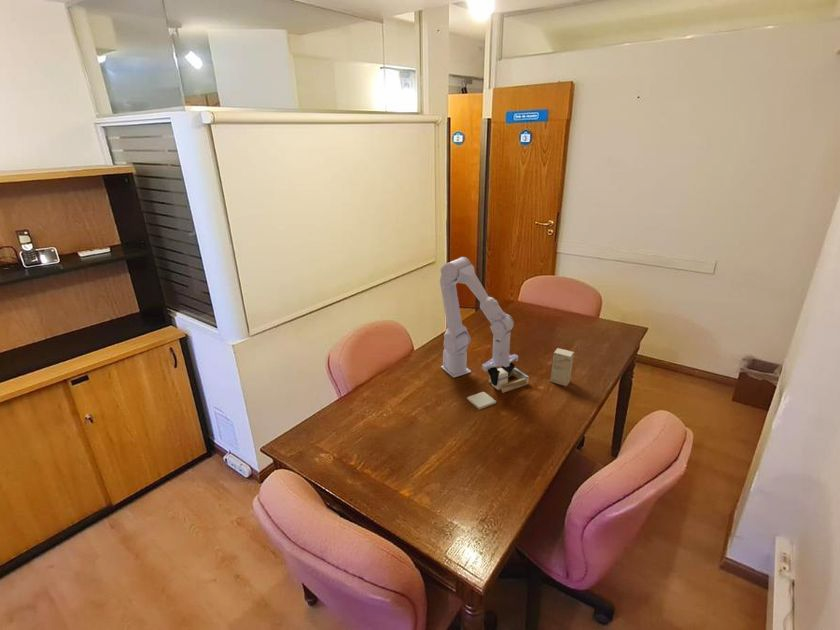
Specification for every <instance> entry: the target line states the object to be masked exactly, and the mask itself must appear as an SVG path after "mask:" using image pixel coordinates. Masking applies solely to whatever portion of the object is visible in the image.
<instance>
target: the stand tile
mask: <svg viewBox="0 0 840 630" xmlns="http://www.w3.org/2000/svg"><path fill="white" fill-rule="evenodd" d="M466 399H467V401H469V402H470V403H471V404H472V405H473V406H475V407H476V408H477V409H478V410H482V409H485V408H487V407H490V406H493V405H495V404H497V400H495V399H494V398H493V397H492V396H490V395H489V394H488V393H487V392H485V391H481V392H478V393H476V394H472V395H469V396H467V398H466Z"/></svg>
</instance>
